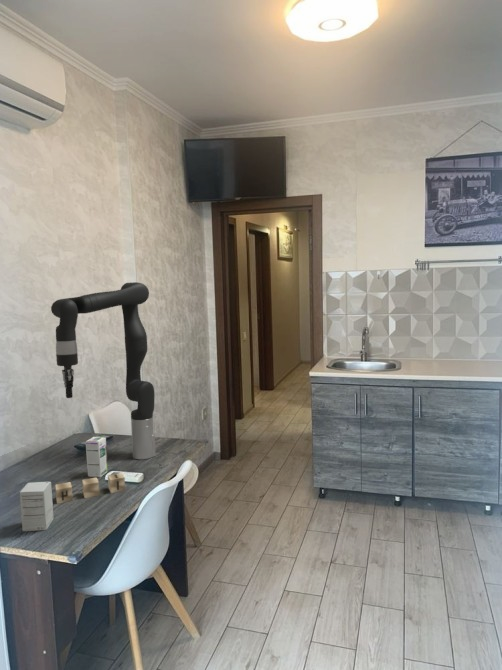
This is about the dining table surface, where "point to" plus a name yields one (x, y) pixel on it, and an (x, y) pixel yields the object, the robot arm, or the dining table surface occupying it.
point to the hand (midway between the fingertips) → (69, 397)
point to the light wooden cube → (63, 492)
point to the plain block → (90, 487)
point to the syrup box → (96, 456)
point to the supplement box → (36, 506)
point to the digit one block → (116, 482)
